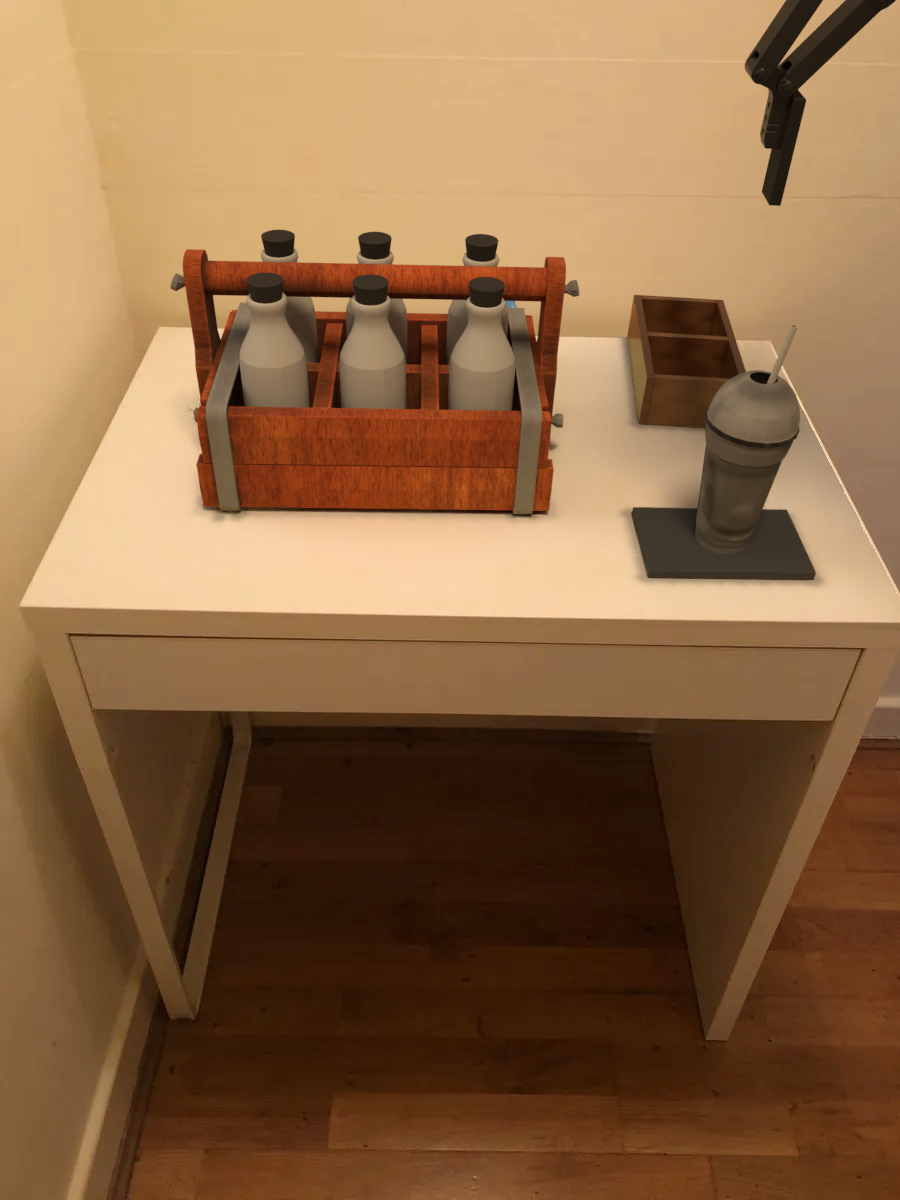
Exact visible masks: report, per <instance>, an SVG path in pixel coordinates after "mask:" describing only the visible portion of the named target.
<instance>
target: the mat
mask: <svg viewBox="0 0 900 1200" xmlns="http://www.w3.org/2000/svg"><path fill="white" fill-rule="evenodd" d="M696 515H697V507H652V506H651V507H643V506H638V507H637V506H634V507H632V511H631V516H632V520H633V523H634V528H635V531H636V535H637V539H638V543H639V547H640V550H641V554H642V559H643V562H644V566H645V570H646V574H647V578H649V579H651V578H653V579H655V578H656V579H722V580H723V579H724V580H725V579H727V580H728V579H730V580H731V579H732V580H735V579H736V580H794V581H795V580H801V581H802V580H804V581H805V580H806V581H807V580H809V581H811V580H812V581H813V580H815V577H816V574H817V572H816V570H815V567H814V565H813V562H812V561H811V558H810V557H809V554H808V552H807V550H806V548H805V546H804V544H803V541H802V539H801V537H800V535H799V532H798V531H797V528H796V526H795V524H794V523H793V520H792V518H791V515H790V514H789V511H788V510H787V509H780V508H779V509H778V508H777V509H773V508H772V509H771V508H770V509H769V508H766V509H765V508H763V509H762V512H761V514H760V516H759V519H758V521H757V524H756V526H755V529H754V531H753V533H752V535H751V536H750V539H749V541H748V544H747V546H746V548H745V549H744V550H743V551H741V552H739V553H736V554H718V553H715V552H712V551H709V550H707V549H705V548H704V547H702V546H701V545H700V544H699V543H698V542H697V540H696V538H695V531H696Z"/></svg>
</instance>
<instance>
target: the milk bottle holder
mask: <svg viewBox="0 0 900 1200" xmlns="http://www.w3.org/2000/svg"><path fill="white" fill-rule="evenodd" d="M260 237H261V243H262V246H263V249H262V250H261V252H260V258H261V261H245V260H243V261H241V260H209V258H208V253H207V251H206V249H199V248H198V249H197V248H196V249H194V248H186V250H185V251H184V253H183V257H182V273H183V275H182V274H179V273H175V274H173V277H172V280H171V282H170V289H171V290H172V291H175V292H178V291H180V290H181V289H183V288H185V295H186V300H187V307H188V314H189V321H190V326H191V333H192V340H193V346H194V363H195V364H194V365H195V366H194V367H195V373H196V380H197V385H198V392H199V393H198V394H199V398H200V399H199V404H200V405H199V406H198V407H194V410H193V419H194V422H195V423H196V424H197V433H198V440H199V445H200V451H201V453H200V454H199V455H198V458H197V461H196V469H197V479H198V483H199V490H200V494H201V501H202V505H203V507H207V508H208V507H209V508H210V507H211V508H212V507H213V508H219V510H220V511H233V512H235V511H237V512H238V511H239V512H240V511H242V509H243V508H282V509H283V508H285V509H286V508H290V509H291V508H293V509H294V508H295V509H296V508H298V509H363V510H364V509H366V510H368V509H369V510H372V509H373V510H374V509H376V510H379V509H380V510H445V511H447V510H450V511H451V510H452V511H456V510H457V511H458V510H459V511H461V510H462V511H511V512H512V515H533V512H535V511H539V512H540V511H542V512H543V511H544V512H545V511H546V512H549V511H550V510H549V509H550V504H551V503H550V502H551V498H552V489H553V488H552V487H553V478H554V464H553V458H549V452H550V451H549V450H550V442H551V433H552V432H551V431H552V426H554V427H555V428H557V429H558V428H560V429H562V428H563V426H564V413H561V412H560V413H559V412H558V413H555V414H554V415H553V411H554V410H553V409H554V402H555V393H556V383H557V376H558V353H559V343H560V336H561V328H562V327H561V325H562V316H563V307H564V299H565V294H567V295H569V296H571V297H573V298H575V297H579V296H580V288H579V283H578V280H577V279H573V280H570V281H568V283H567V284H566V281H567V276H566V275H567V263H566V259H565V257H564V256H545V259H544V265H543V267H538V266H537V267H536V266H535V267H534V266H498V265H499V262H500V257H499V255H498V254H497V252H498V245H499V239H498V237H496V236H495V235H494V236H493V235H491V234H486V233H474V234H469V235H468V236H466V238H465V239H464V242H465V253H464V254H463V257H462V264H463V265H443V264H442V265H441V264H440V265H438V264H396V263H395V264H393V262H394V260H395V257H394V253H393V252H392V251H391V246H392V236H391V235H390V234H388V233H386V232H382V231H367V232H363V233H360V234H359V235H358V237H357V239H358V246H359V251H358V252H357V254H356V260H357V262H358V263H346V262H345V263H344V262H343V263H340V262H339V263H338V262H300V261H299V262H298V260H299V254H298V250H297V249H296V248H295V239H296V236H295V233H294V232H292V231H290V230H287V229H271V230H266V231H264V232H263V233H261V235H260ZM214 296H233V297H234V296H235V297H237V296H238V297H239V296H240V297H241V296H242V297H246V302H239V304H238V306H237V309H231V311H230V312H229V314H228V317H227V320H226V323H225V326H224V329H223V332H222V335H221V336H220V333H219V329H218V323H217V315H216V307H215V301H214ZM312 298H343V299H345V298H346V299H349V300H348V302H347V304H346V307H345V311H320V310H319V311H317V310H315V304H314V301H313V299H312ZM404 300H443V301H449V300H450V301H451V302H450V305H449V307H448V311H447V313H424V312H423V313H422V312H421V313H419V312H418V313H417V312H407V311H408V310H407V306H406V304H405V302H404ZM505 301H515V302H540V309H539V320H538V331H537V336H536V332H535V325H534V319H533V315H531V314H530V315H529V314H528V315H527V314H526V311H525V308H524V307H517V308H507V306H506V303H505Z"/></svg>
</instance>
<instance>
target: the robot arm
mask: <svg viewBox="0 0 900 1200" xmlns="http://www.w3.org/2000/svg"><path fill="white" fill-rule="evenodd" d="M823 1H824V0H785V1H784V2H783V4H782V5H781V7H780V8H779V10H778V12H777V13H776V14H775V16H774V17H773V19H772V21H771V22H770V23H769V25H768V27H767V28H766V30H765V31H764V33H763V34H762V36H761V38H759V40H758V42H757V43H756V45H755V46H754V47H753V49H752V50H751V52H750V54H749V55H748V56H747V58H746V60H745V61H744V71H745V72H746V74H747V75H748V76H749V78H750V79H751V81H752V82H753V83H754V84H755V85H761V86H763V87H764V88H767V91H768V95H767V99H766V105H765V108H764V113H763V118H762V123H761V127H760V131H759V138H760V143H761V144H762V146H763V148H764V149H765V150H766V149H767V150H770V155H769V159H768V163H767V166H766V171H765V175H764V179H763V184H762V188H761V193H762V195H763V197H764V198H765V200H766V202H767V204H768V206H773V207H774V206H776V207H781V205H782V201H783V198H784V194H785V189H786V186H787V181H788V178H789V174H790V169H791V164H792V160H793V156H794V153H795V149H796V144H797V140H798V136H799V132H800V129H801V124H802V120H803V116H804V112H805V108H806V103H807V98H805V97H804V95H803V94H802V93H801V91H800V90H799V89H800V88H801V87H802V86H803V85H804V84H806V83H807V82H808V81H809V80H810V79H811V78H812V77H813V76H814V75H815V74H816V73H818V71H819V70H820V69H821V68H822V67H823V66H824V65H826V63H828V62H829V61H830V60H831V59H832V58H833V57H834V56H835V55H836V54H837V53H838V52H839V51H840V50H841V49H842V48H843V47H844V46H845V45H847V44H848V43H849V42H850V41H851V40H852V39H853V38H854V37H855V36H856V35H858V33H860V31H862V29H864V27H865V26H866V25H867V24H869V23H870V22H871V21H872V20H873V19H874V18H875V17H876V16H877V15H878V14H879V13H881V12H882V11H883V10H885V9H888V8H889V7H890V6H892V5H893V4H894V3H895V2H897V0H844V1H843V2H842V3H841V4H840V5H839V6H838V7H837V8H835V10H834V11H832V13H831V14H830V15H829V16H828V17H827V18H826V19H825V20H824V21H822V22H821V24H819V25H818V26H817V27H816V28H815V29H814V30H813V31H812V32H811V33H810V34H809V35H808V36H807V37H806V38H805V39H804V40H803V41H802V42H801V43H800V44H799V45H798V46H797V47H796V48H795V49H794V50H793V51H792V52H791V53H790V54H789V55H788V56H786V55H787V53H788V52H789V51H790V50H791V48H792V46H793V45H794V43H795V42H796V40H797V39H798V37H799V36H800V35H801V34H802V32H803V30H804V29H805V27H806V26H807V24H808V23H809V22H810V20H811V19H812V17H813V16H814V14H815V13H816V11H818V9H819V7H820V6H821V4H822V3H823ZM785 57H786V58H785Z"/></svg>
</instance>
